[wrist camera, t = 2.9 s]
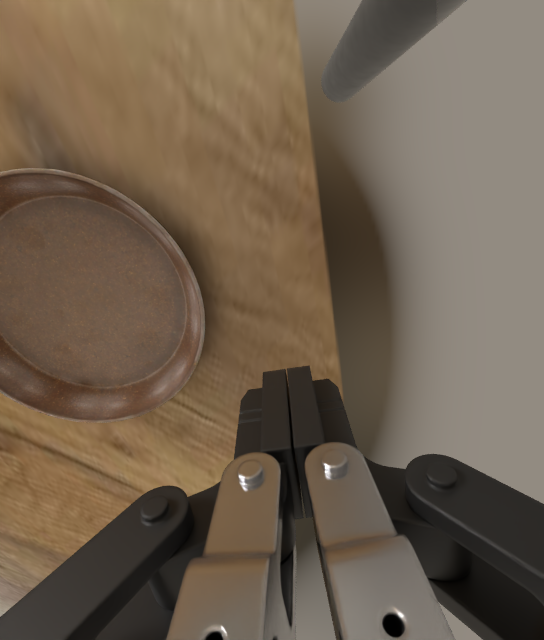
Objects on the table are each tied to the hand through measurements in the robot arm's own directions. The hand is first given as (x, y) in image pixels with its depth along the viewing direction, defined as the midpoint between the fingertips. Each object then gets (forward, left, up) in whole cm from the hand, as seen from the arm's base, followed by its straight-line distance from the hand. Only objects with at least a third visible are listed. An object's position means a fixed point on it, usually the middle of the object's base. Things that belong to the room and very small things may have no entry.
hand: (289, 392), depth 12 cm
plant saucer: (+14, 0, -15) cm, 21 cm away
